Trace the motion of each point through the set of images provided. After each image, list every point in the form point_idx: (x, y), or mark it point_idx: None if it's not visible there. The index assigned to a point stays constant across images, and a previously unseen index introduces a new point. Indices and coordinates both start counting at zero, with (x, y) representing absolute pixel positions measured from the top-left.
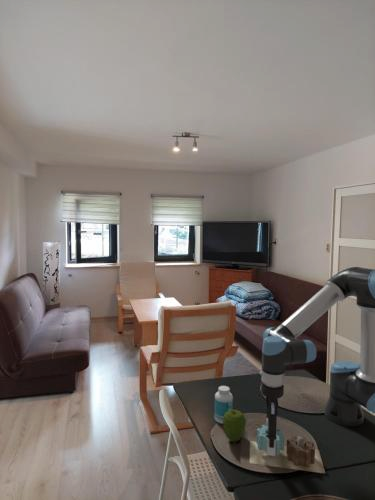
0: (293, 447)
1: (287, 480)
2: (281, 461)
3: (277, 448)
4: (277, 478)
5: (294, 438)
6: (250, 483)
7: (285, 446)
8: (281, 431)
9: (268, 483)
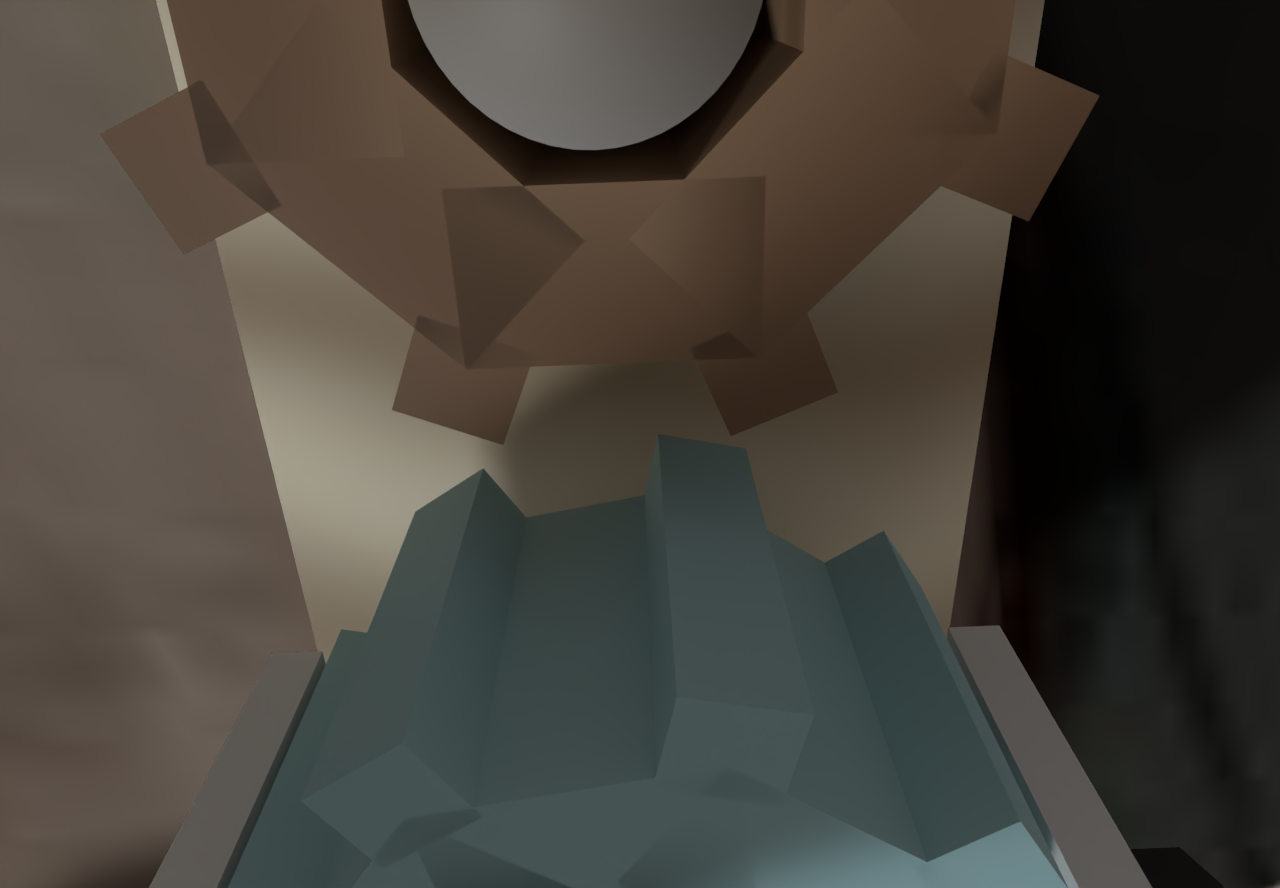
0: (851, 260)
1: (1171, 276)
2: None
3: (960, 677)
4: (1121, 434)
5: (323, 191)
6: (1214, 754)
7: (271, 301)
8: (446, 760)
9: (1227, 557)
